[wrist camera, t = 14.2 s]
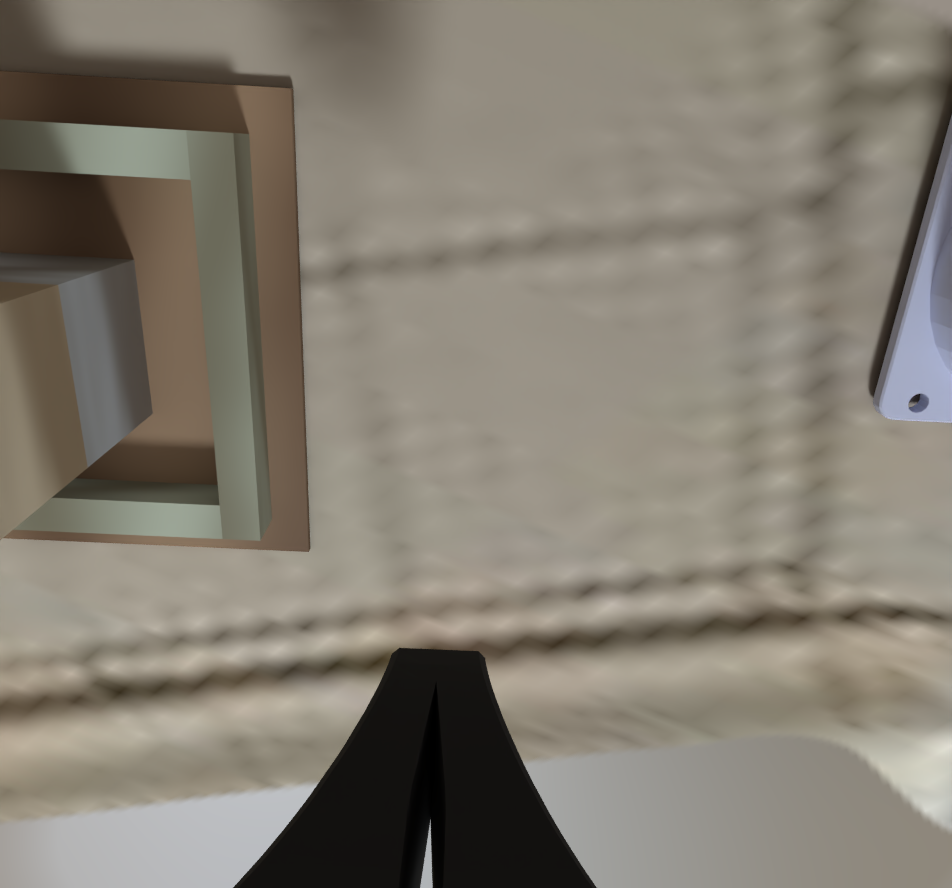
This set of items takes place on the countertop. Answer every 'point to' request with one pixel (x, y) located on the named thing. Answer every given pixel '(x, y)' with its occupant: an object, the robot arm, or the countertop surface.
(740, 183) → the countertop surface
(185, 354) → the socket board
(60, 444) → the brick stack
